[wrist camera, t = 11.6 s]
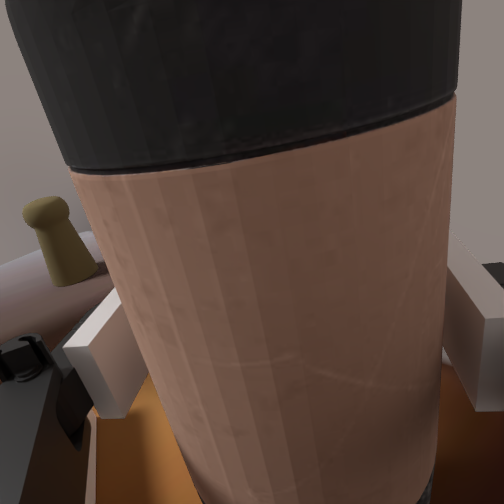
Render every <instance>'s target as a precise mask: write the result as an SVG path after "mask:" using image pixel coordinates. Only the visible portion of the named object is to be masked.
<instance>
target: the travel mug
mask: <svg viewBox="0 0 504 504" xmlns="http://www.w3.org/2000/svg"><path fill="white" fill-rule="evenodd" d="M5 5H6V9H7V14H8V17H9V20H10V23H11V26H12V29H13V32H14V35H15V38H16V41H17V43H18V46H19V48H20V51H21V53H22V56H23V58H24V60H25V63H26V66H27V68H28V70H29V73H30V76H31V78H32V81H33V83H34V86H35V88H36V90H37V93H38V96H39V98H40V101H41V103H42V106H43V108H44V110H45V113H46V116H47V118H48V121H49V123H50V126H51V128H52V131H53V133H54V135H55V138H56V141H57V143H58V146H59V148H60V151H61V153H62V156H63V158H64V161H65V163H66V164H67V165H68V166H69V168H68V170H69V173H70V176H71V178H72V180H73V183H74V185H75V188H76V191H77V193H78V196H79V198H80V201H81V203H82V206H83V208H84V210H85V213H86V216H87V218H88V221H89V223H90V226H91V228H92V231H93V233H94V236H95V238H96V241H97V243H98V246H99V248H100V251H101V253H102V256H103V258H104V261H105V263H106V266H107V268H108V271H109V273H110V276H111V278H112V281H113V283H114V286H115V288H116V291H117V293H118V296H119V298H120V301H121V303H122V306H123V308H124V311H125V313H126V316H127V318H128V321H129V323H130V326H131V328H132V331H133V333H134V336H135V338H136V341H137V343H138V346H139V348H140V351H141V353H142V356H143V358H144V361H145V363H146V366H147V368H148V371H149V373H150V376H151V378H152V381H153V383H154V386H155V388H156V391H157V393H158V396H159V398H160V401H161V403H162V406H163V408H164V411H165V413H166V416H167V418H168V421H169V423H170V426H171V428H172V431H173V433H174V436H175V438H176V441H177V443H178V446H179V448H180V451H181V453H182V456H183V458H184V461H185V463H186V466H187V468H188V471H189V473H190V476H191V478H192V481H193V483H194V486H195V488H196V490H197V492H198V494H199V497H200V499H201V501H202V503H203V504H430V497H431V489H432V482H433V474H434V466H435V459H436V449H437V435H438V417H439V399H440V381H441V364H442V346H443V328H444V311H445V293H446V275H447V257H448V240H449V222H450V204H451V185H452V168H453V150H454V133H455V116H456V95H455V93H454V91H455V90H456V88H457V81H458V64H459V45H460V29H461V28H460V27H461V11H462V0H5Z"/></svg>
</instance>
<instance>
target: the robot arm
mask: <svg viewBox="0 0 504 504" xmlns="http://www.w3.org/2000/svg"><path fill="white" fill-rule="evenodd" d="M443 347H444V349H445V351H446V353H447V355H448V357H449V359H450V361H451V363H452V365H453V367H454V369H455V371H456V373H457V375H458V377H459V379H460V381H461V383H462V385H463V388H464V390H465V392H466V394H467V396H468V398H469V400H470V402H471V404H472V406H473V408H474V410H475V412H481V411H504V263H502V262H499V263H489V264H481V263H480V262H479V261H478V260H477V259H476V258H475V257H474V256H473V255H472V253H471V252H470V251H469V250H468V249H467V248H466V247H465V246H464V245H463V243H462V242H461V241H459V239H458V238H457V237H456V236H455V234H454V233H453V232H452V231H451V230H450V229H449V240H448V257H447V275H446V293H445V311H444V328H443ZM148 372H149V371H148V368H147V366H146V363H145V361H144V358H143V356H142V353H141V351H140V348H139V346H138V343H137V341H136V338H135V336H134V333H133V331H132V328H131V326H130V323H129V321H128V318H127V316H126V313H125V311H124V308H123V306H122V303H121V301H120V298H119V296H118V293H117V291H116V288H114V289H113V290H112V291H111V292H110V293H109V295H108V296H107V297H106V298H105V299H104V300H103V301H102V302H100V303H99V304H97V305H96V306H95V307H93V308H92V309H90V310H89V311H88V312H87V313H86V314H85V315H84V316H83V317H82V318H81V319H80V321H79V323H77V324H76V325H75V326H74V327H73V328H72V331H70V332H69V333H68V334H67V335H66V336H65V337H64V338H63V340H62V341H61V342H60V343H59V344H58V345H57V346H56V347H55V348H54V350H53V351H52V352H51V353H50V351H49V349H48V347H47V346H46V344H45V342H44V340H43V339H42V337H41V335H39V334H37V333H28V334H24V335H20V336H18V337H15V338H13V339H11V340H9V341H7V342H6V343H4V344H2V345H0V379H1V381H2V382H3V383H2V384H1V385H0V504H85V497H86V485H87V474H88V462H89V450H90V439H91V423H90V421H89V419H88V417H87V415H88V413H89V411H90V410H91V408H92V407H93V405H94V407H95V408H96V410H97V412H98V414H99V416H100V417H101V419H125V417H126V415H127V413H128V411H129V409H130V407H131V405H132V403H133V401H134V399H135V397H136V395H137V393H138V392H139V390H140V388H141V386H142V384H143V382H144V380H145V378H146V376H147V374H148Z"/></svg>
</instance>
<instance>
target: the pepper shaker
mask: <svg viewBox="0 0 504 504" xmlns="http://www.w3.org/2000/svg"><path fill="white" fill-rule="evenodd" d="M22 214H23V218H24V220H25V222H26V223H27V224H28V225H29V226H30V227H32V228H34V229H35V231H36V234H37V237H38V240H39V243H40V246H41V249H42V252H43V255H44V258H45V262H46V265H47V268H48V271H49V274H50V277H51V280H52V283H53V285H54V286H58V287H62V286H68V285H72V284H75V283H78V282H81V281H83V280H85V279H87V278H88V277H90V276H92V275H93V274H94V273H95V272H96V271H97V270H98V265H97V264H96V262H95V260H94V259H93V257H92V256H91V254H90V252H89V251H88V249H87V248H86V246H85V244H84V243H83V241H82V240H81V238H80V236H79V235H78V233H77V232H76V230H75V228H74V227H73V225H72V224H71V222H70V220H69V219H68V217H69V207H68V205H67V203H66V202H65V201H64V200H63V199H62V198H60V197H57V196H51V197H44V198H40V199H37V200H35V201H32V202H30V203H29V204H27V205H26V206H25V207H24V208H23V213H22Z"/></svg>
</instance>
